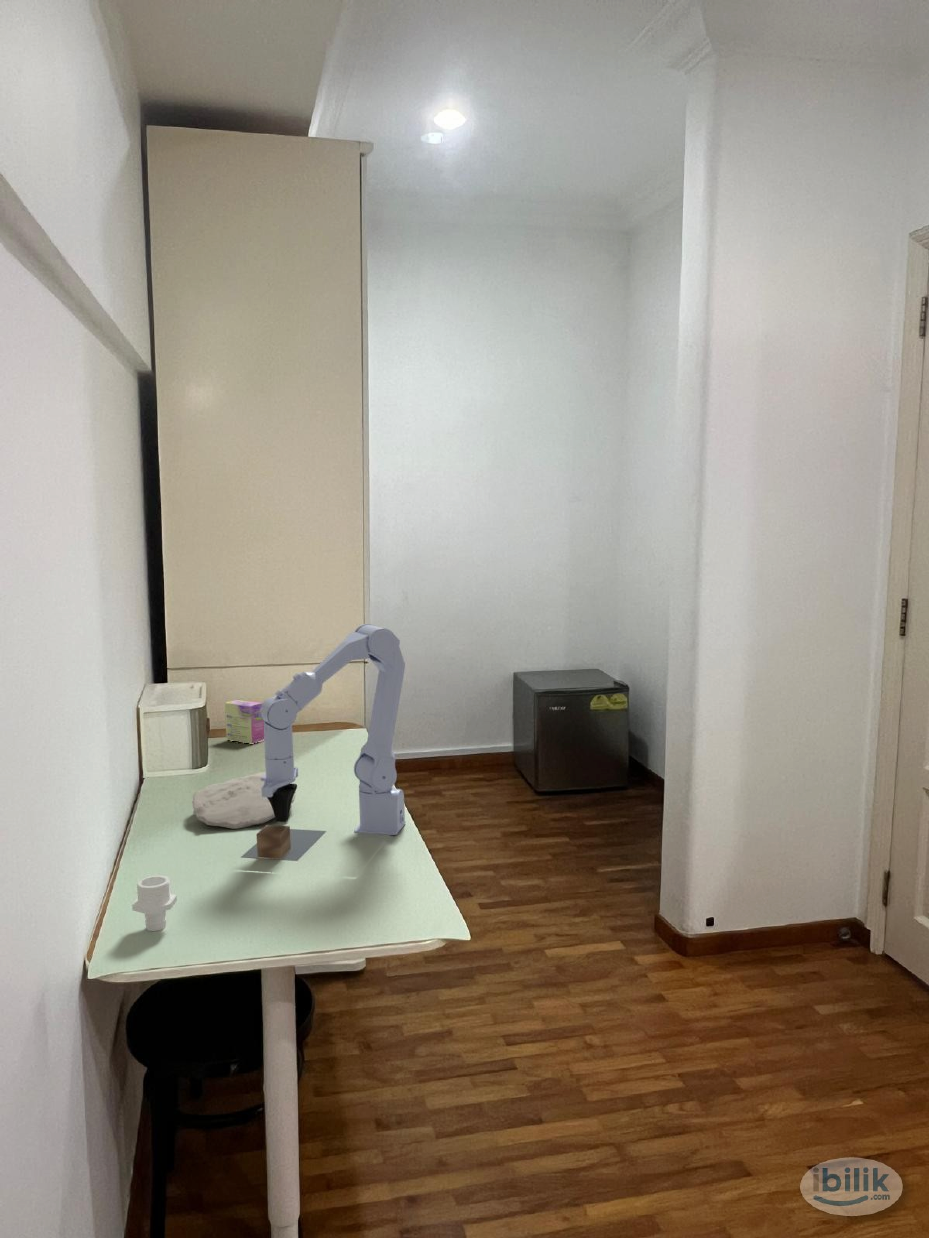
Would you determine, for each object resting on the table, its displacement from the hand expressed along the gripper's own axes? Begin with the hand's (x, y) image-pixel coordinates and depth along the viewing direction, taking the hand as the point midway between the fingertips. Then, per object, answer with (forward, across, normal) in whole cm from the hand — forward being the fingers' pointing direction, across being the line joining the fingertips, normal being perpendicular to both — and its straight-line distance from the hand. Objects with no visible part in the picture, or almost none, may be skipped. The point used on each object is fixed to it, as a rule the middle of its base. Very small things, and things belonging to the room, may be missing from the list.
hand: (282, 820), depth 193 cm
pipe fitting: (+6, +38, -7) cm, 40 cm away
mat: (+6, -1, 0) cm, 6 cm away
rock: (+6, -22, -18) cm, 29 cm away
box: (+6, -81, -45) cm, 93 cm away
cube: (0, +5, 0) cm, 5 cm away
